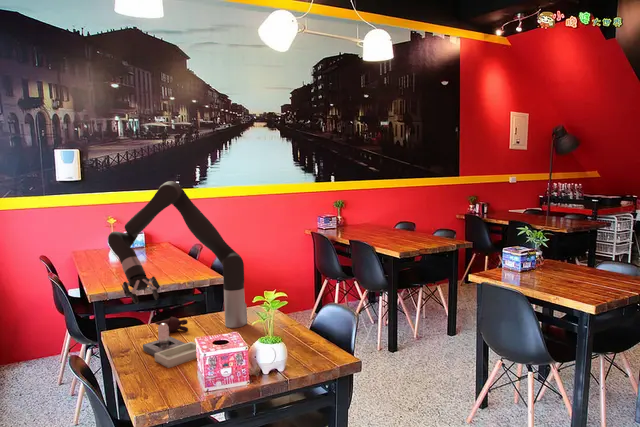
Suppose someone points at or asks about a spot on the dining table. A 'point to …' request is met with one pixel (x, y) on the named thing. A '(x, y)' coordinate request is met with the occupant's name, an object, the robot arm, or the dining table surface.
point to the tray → (176, 355)
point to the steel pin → (163, 335)
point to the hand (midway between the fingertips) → (147, 300)
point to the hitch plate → (154, 346)
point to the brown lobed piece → (174, 324)
